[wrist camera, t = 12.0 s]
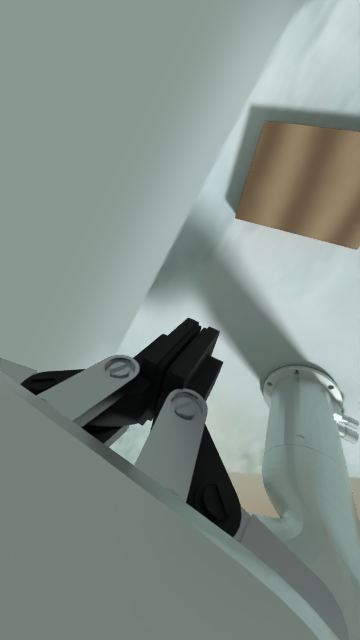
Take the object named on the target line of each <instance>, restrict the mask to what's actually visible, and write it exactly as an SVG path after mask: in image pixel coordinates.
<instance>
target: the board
mask: <svg viewBox="0 0 360 640" xmlns="http://www.w3.org/2000/svg"><path fill="white" fill-rule="evenodd" d="M235 218H236V219H240V220H244V221H248V222H252V223H256V224H260V225H263V226H267V227H271V228H275V229H279V230H283V231H287V232H290V233H294V234H298V235H302V236H306V237H310V238H313V239H317V240H321V241H325V242H329V243H333V244H337V245H340V246H344V247H348V248H352V249H356V250H357V249H358V247H359V246H360V132H358V131H350V130H341V129H332V128H324V127H315V126H307V125H298V124H289V123H281V122H272V121H265V123H264V126H263V130H262V133H261V136H260V139H259V142H258V146H257V149H256V152H255V155H254V159H253V162H252V165H251V168H250V171H249V175H248V178H247V181H246V184H245V187H244V191H243V194H242V197H241V200H240V203H239V207H238V210H237V213H236V216H235Z"/></svg>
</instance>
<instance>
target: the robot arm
mask: <svg viewBox="0 0 360 640" xmlns="http://www.w3.org/2000/svg"><path fill="white" fill-rule="evenodd" d="M200 331H201V332H200ZM219 333H220V331H218V330H216V329H214V328H211V327H208V328H207V329H206V328H203V329H202V330H201V326H199V322H197V321H195V320H193V319H190V318H187V319H186V320H185V321H184V322H183V323H182V324H180V325H179V326H178V327H177V328H176V329H175V330H174V331H172V332H171V333H170V334H169V335H168V336H167V335H165V334H162V335H161V336H159V337H158V338H157V339H156V340H154V341H153V342H152V343H151V344H150V345H148V346H147V347H146V348H145V349H144V350H142V351H141V352H140V353H139V354H138V355H136V356H135V357H134V358H131V357H129V356H125V355H115V356H111V357H108V358H106V359H104V360H102V361H101V362H99V363H97V364H95V365H93V366H91V367H89V368H87V369H81V370H64V371H48V372H41V373H37V370H34V369H31V368H28V367H25V366H22V365H19V364H16V363H13V362H10V361H7V360H5V359H2V358H0V640H360V520H359V517H358V513H357V509H356V505H355V501H354V497H353V492H352V489H351V484H350V479H349V475H348V470H347V466H346V462H345V457H344V453H343V448H342V444H341V439H340V437H341V438H343V439H345V440H347V441H349V442H351V443H353V444H355V443H356V442H357V440H358V433H357V432H355V431H353V430H351V429H349V428H347V427H343V426H341V425H339V424H338V422H342V423H345V424H346V425H348V426H350V427H352V428H354V429H356V428H357V427H358V424H359V423H358V421H357V420H355V419H353V418H351V417H348V416H345V415H343V413H342V412H341V410H342V406H343V399H342V395H341V392H340V390H339V388H338V386H337V385H336V383H335V382H334V381H333V380H332V379H331V378H330V377H329V376H327V375H326V374H324V373H322V372H321V371H318V370H316V369H313V368H310V367H306V366H287V367H282V368H280V369H277V370H276V371H274V372H272V373H271V374H270V375H269V376H268V377H267V379H266V381H265V383H264V388H263V396H264V399H265V402H266V403H267V405H268V407H269V408H270V410H269V418H268V426H267V434H266V442H265V450H264V458H263V466H262V477H263V483H264V487H265V490H266V493H267V495H268V497H269V499H270V501H271V503H272V505H273V507H274V508H275V510H276V512H277V513H278V515H279V517H280V518H273V517H269V516H262V515H257V514H254V513H250V512H246V511H245V510H244V509H243V508H242V507H241V505H240V502H239V499H238V496H237V494H236V492H235V489H234V487H233V485H232V483H231V480H230V478H229V476H228V474H227V471H226V469H225V467H224V465H223V462H222V460H221V458H220V456H219V453H218V451H217V449H216V447H215V445H214V442H213V440H212V438H211V436H210V433H209V431H208V429H207V427H206V425H205V421H206V417H207V409H208V408H207V404H206V400H207V398H208V396H209V394H210V392H211V390H212V388H213V386H214V384H215V381H216V379H217V377H218V374H219V372H220V369H221V367H222V364H223V362H222V361H220V360H218V359H216V358H214V357H212V356H211V355H212V352H213V349H214V347H215V344H216V341H217V338H218V336H219ZM153 418H154V419H153ZM147 419H148V420H150V421H151V420H152V419H153V423H152V427H151V431H150V434H149V436H148V438H147V440H146V442H145V444H144V446H143V448H142V451H141V453H140V455H139V457H138V459H137V461H136V463H135V465H132V464H131V463H130V462H128V461H127V460H126V459H124V458H123V457H121V456H120V455H119V454H117V453H116V452H114V451H113V450H112V449H110V448H109V447H110V446H111V445H112V444H113V443H114V442H115V441H116V440H117V439H118V438H119V437H120V436H122V435H123V434H124V433H125V432H126V431H127V429H128V428H129V426H130V425H132V424H137V423H139V424H141V425H142V426H143V425H144V423H145V422H146V421H147Z"/></svg>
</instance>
